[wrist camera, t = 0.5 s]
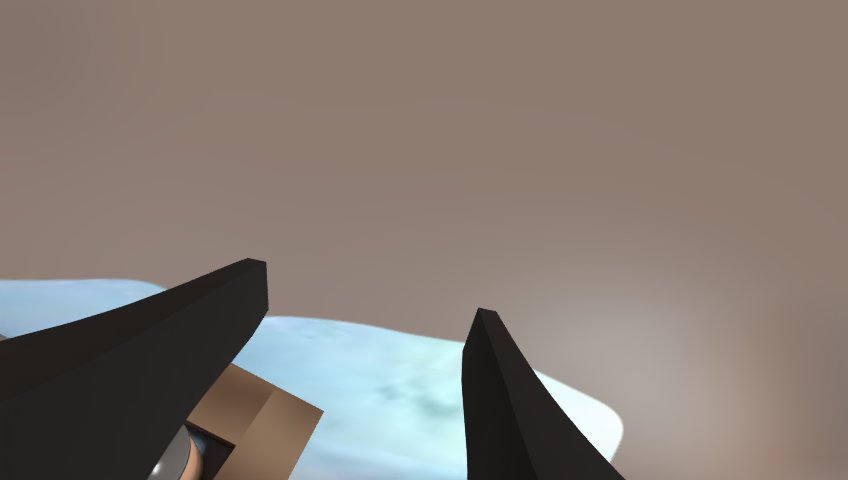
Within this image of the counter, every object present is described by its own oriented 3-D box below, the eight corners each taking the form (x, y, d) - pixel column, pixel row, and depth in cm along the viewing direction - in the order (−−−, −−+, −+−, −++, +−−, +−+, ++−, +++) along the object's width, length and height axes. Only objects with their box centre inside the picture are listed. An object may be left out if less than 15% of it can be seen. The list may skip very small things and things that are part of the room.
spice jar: (162, 541, 17) (123, 549, 12) (93, 508, 17) (22, 500, 11) (220, 457, 20) (210, 433, 15) (163, 428, 20) (132, 393, 14)
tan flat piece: (159, 716, 14) (148, 740, 12) (-115, 591, 13) (-160, 599, 12) (319, 418, 23) (324, 411, 22) (165, 338, 23) (159, 324, 21)
